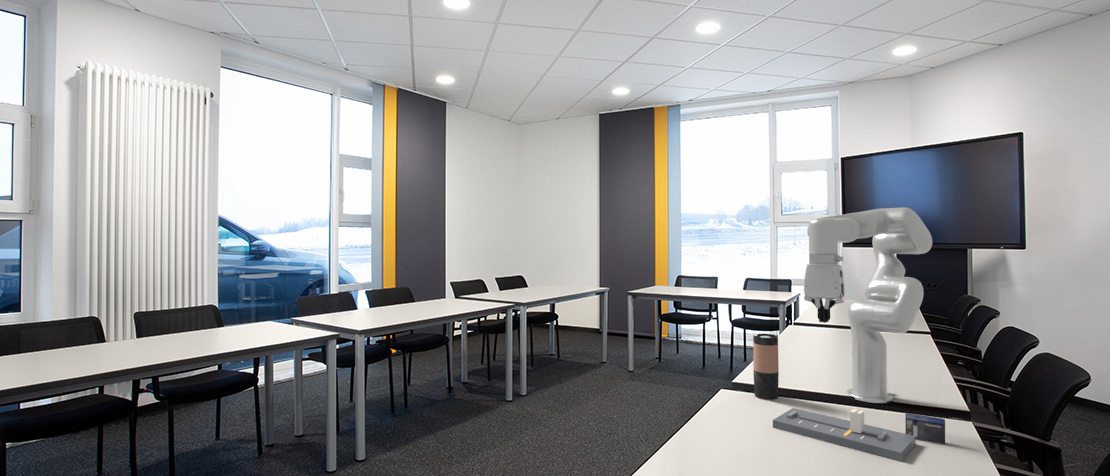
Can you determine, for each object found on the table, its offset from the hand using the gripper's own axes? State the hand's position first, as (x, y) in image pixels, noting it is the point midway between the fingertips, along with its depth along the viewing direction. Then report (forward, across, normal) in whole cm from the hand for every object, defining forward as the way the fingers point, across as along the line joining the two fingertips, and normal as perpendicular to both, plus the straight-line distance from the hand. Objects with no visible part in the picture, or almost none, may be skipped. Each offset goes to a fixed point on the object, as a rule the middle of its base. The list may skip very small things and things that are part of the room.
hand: (823, 321), depth 151 cm
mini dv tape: (+27, -25, +3) cm, 37 cm away
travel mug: (+27, +19, -3) cm, 33 cm away
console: (+27, -9, +15) cm, 32 cm away
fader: (+25, -13, +15) cm, 32 cm away
